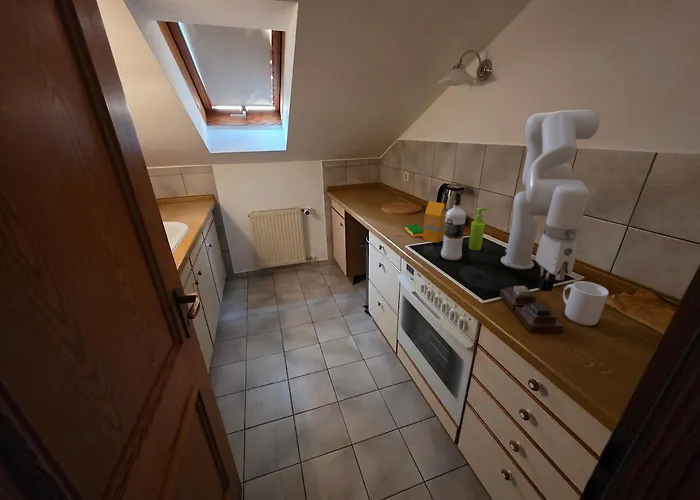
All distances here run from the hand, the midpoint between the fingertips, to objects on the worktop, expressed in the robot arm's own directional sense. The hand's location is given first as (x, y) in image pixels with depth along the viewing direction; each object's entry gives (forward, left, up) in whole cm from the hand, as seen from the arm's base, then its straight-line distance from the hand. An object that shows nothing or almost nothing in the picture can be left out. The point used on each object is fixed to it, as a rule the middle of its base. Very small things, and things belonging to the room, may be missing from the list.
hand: (544, 289), depth 88 cm
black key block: (0, 0, -11) cm, 11 cm away
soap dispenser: (-59, +3, -11) cm, 60 cm away
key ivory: (-11, 0, -8) cm, 13 cm away
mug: (-3, +14, -11) cm, 18 cm away
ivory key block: (-11, 0, -11) cm, 15 cm away
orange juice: (-72, -15, -11) cm, 74 cm away
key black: (0, 0, -8) cm, 8 cm away
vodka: (-49, -12, -11) cm, 51 cm away
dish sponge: (-83, -23, -11) cm, 87 cm away
